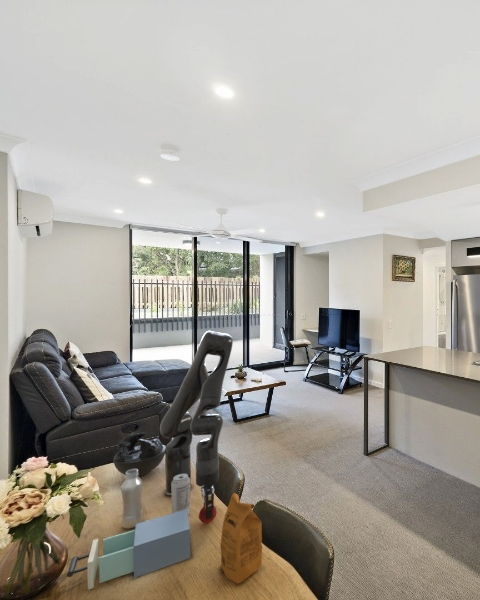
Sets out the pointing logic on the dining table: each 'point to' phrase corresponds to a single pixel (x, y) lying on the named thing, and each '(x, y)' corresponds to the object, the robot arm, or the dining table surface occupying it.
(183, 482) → the energy drink can
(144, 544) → the cabinet
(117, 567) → the drawer
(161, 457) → the coal bowl
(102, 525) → the dining table surface
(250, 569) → the coffee package
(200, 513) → the onion
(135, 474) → the plastic bottle
